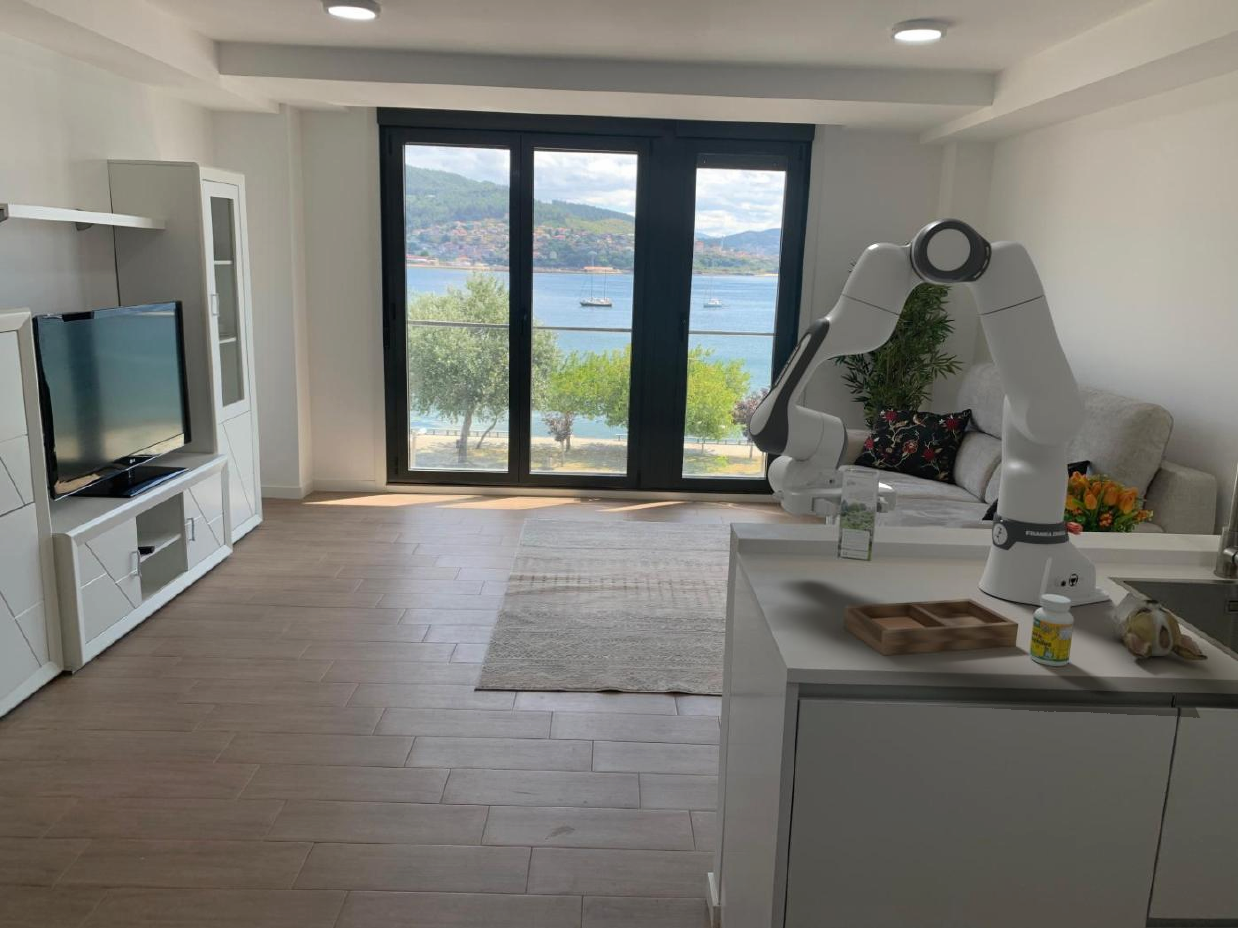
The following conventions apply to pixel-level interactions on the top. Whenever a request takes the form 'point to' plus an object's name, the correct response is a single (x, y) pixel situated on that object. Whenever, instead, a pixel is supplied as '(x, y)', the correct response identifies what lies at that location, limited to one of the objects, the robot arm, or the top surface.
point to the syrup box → (858, 514)
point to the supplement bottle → (1052, 631)
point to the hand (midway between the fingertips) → (861, 509)
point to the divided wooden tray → (929, 626)
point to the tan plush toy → (1151, 630)
